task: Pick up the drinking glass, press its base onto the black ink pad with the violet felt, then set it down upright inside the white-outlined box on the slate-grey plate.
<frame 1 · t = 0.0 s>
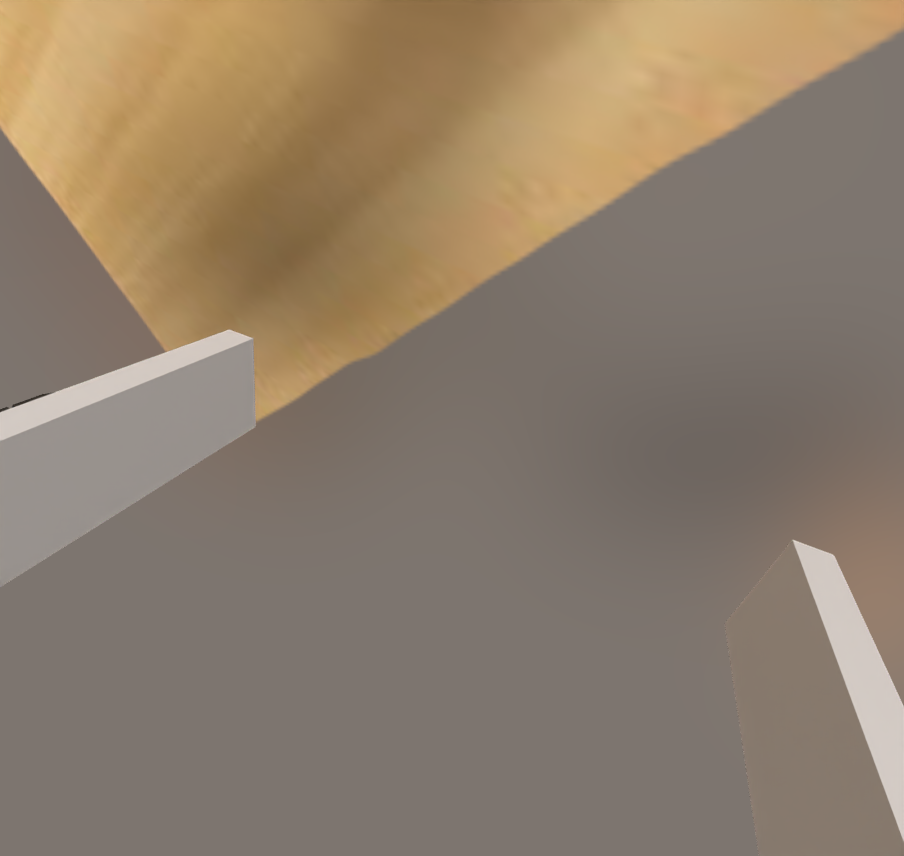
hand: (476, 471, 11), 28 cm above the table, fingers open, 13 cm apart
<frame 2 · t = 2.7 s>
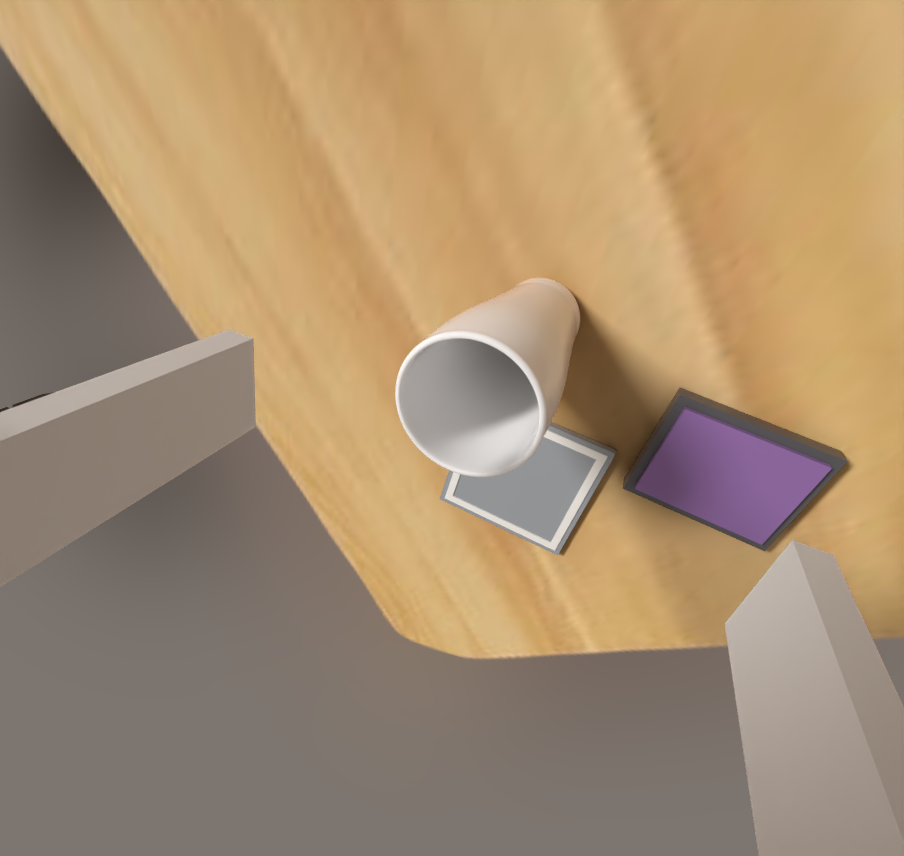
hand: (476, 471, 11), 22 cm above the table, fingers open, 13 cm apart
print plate: (520, 474, 38), on the table
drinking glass: (541, 316, 32), on the table
ink pad: (722, 466, 32), on the table
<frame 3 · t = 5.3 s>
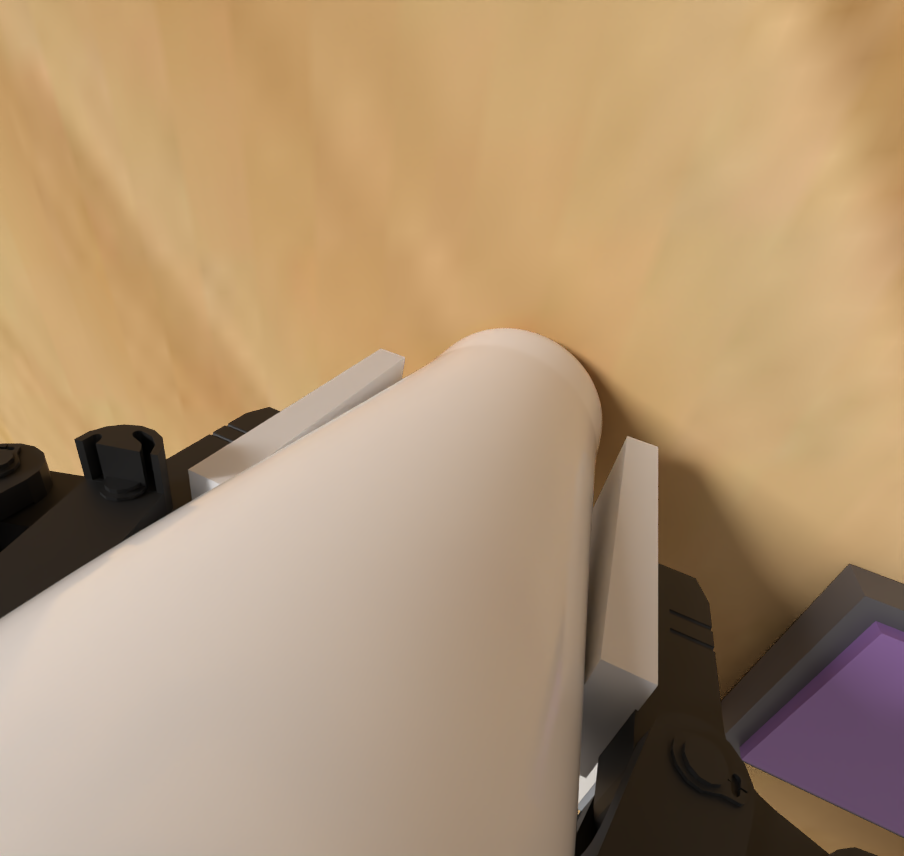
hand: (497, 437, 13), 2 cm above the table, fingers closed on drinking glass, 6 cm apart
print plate: (503, 678, 20), on the table
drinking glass: (515, 405, 15), on the table, touching gripper
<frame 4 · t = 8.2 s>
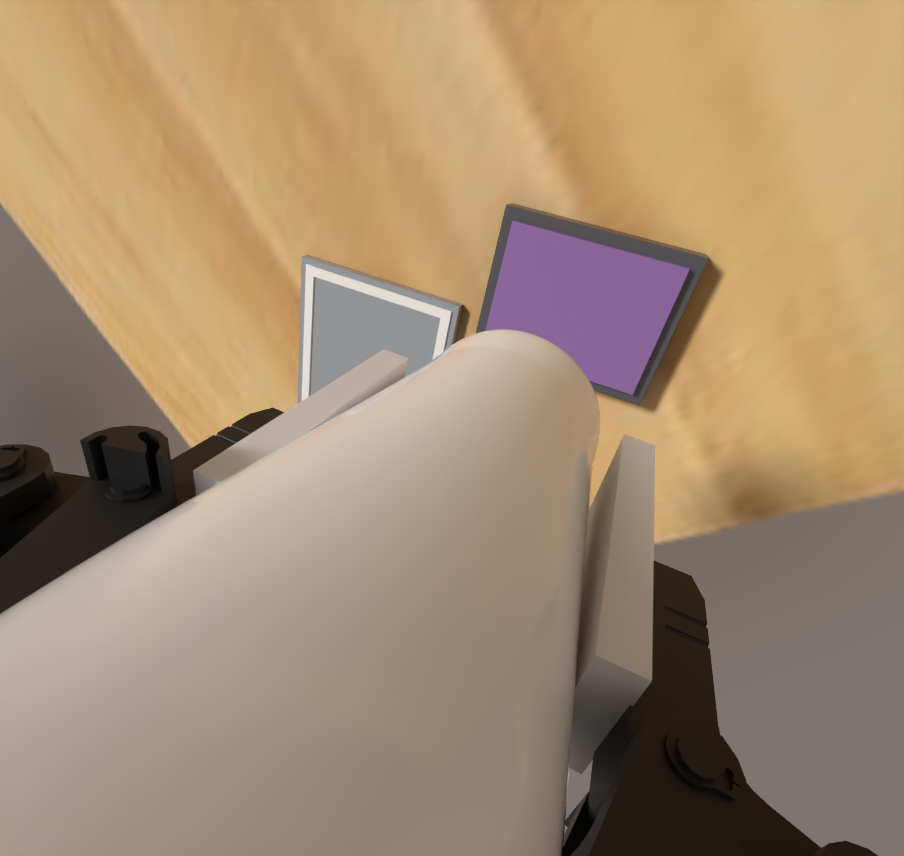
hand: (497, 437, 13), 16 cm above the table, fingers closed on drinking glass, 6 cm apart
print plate: (372, 358, 33), on the table
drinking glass: (514, 406, 15), point 14 cm above the table, touching gripper
ink pad: (578, 304, 26), on the table
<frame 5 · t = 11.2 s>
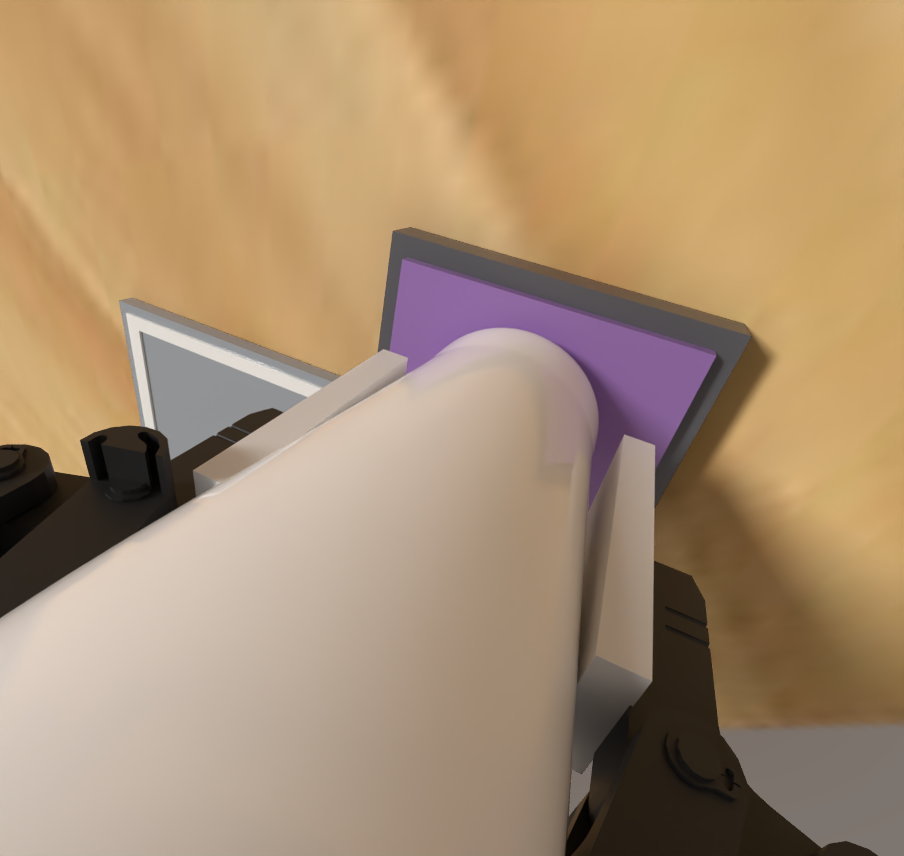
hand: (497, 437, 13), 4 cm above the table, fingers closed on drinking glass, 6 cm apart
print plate: (240, 445, 22), on the table
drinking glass: (512, 405, 15), point 1 cm above the table, touching gripper
ink pad: (526, 391, 16), on the table
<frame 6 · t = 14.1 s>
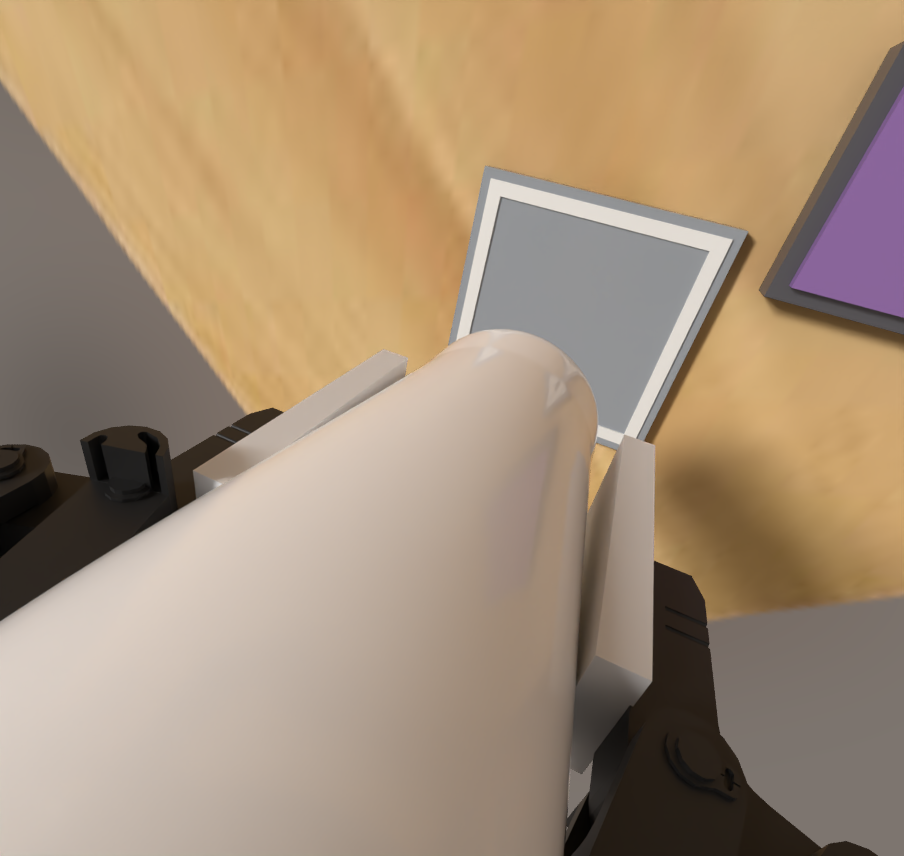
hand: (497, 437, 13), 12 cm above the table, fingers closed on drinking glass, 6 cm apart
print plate: (568, 319, 23), on the table
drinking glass: (511, 406, 15), point 10 cm above the table, touching gripper
when the fingers open (4 cm above the table, at t = 16.6 s): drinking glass drops 1 cm, resting on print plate.
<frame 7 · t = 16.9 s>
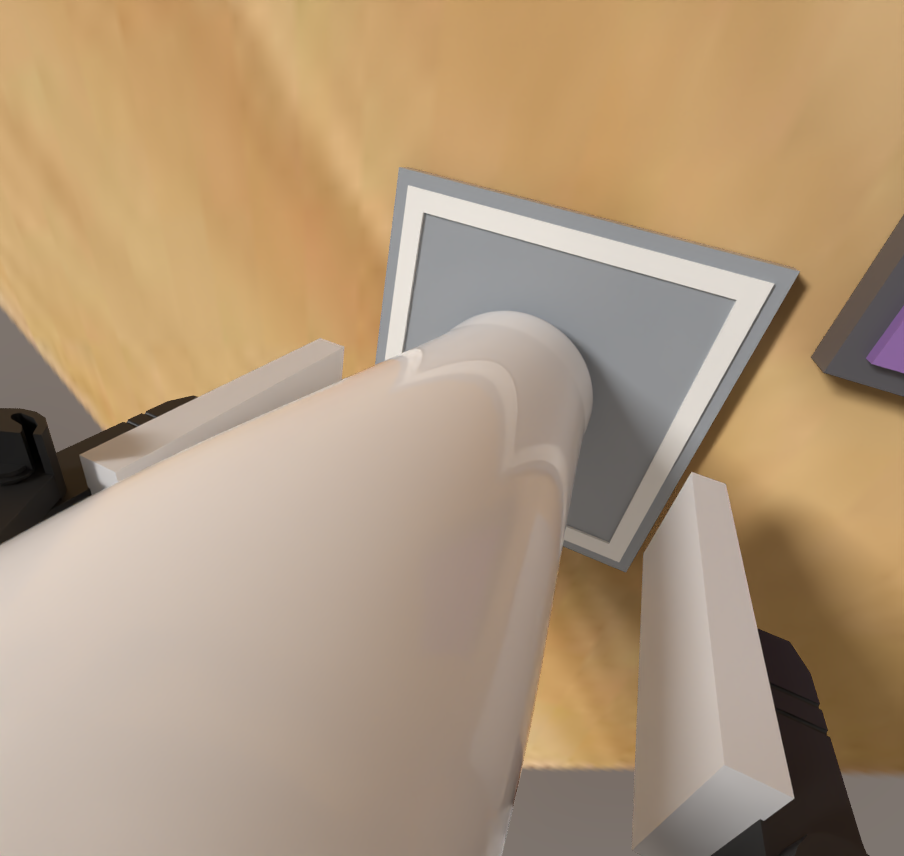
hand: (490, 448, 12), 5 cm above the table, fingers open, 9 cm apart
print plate: (529, 385, 16), on the table
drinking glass: (514, 384, 16), resting on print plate
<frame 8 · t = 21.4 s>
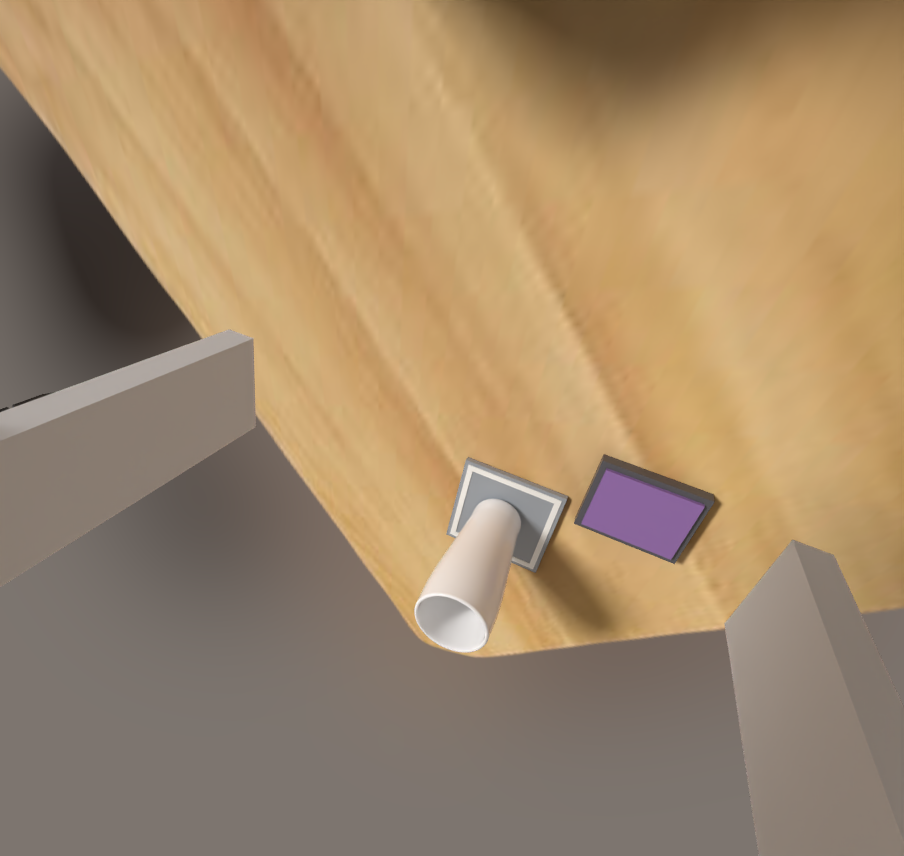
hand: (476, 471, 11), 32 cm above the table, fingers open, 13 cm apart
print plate: (503, 515, 52), on the table
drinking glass: (498, 515, 52), resting on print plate
ink pad: (639, 506, 46), on the table
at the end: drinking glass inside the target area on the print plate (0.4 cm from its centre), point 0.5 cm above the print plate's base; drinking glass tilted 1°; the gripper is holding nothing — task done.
